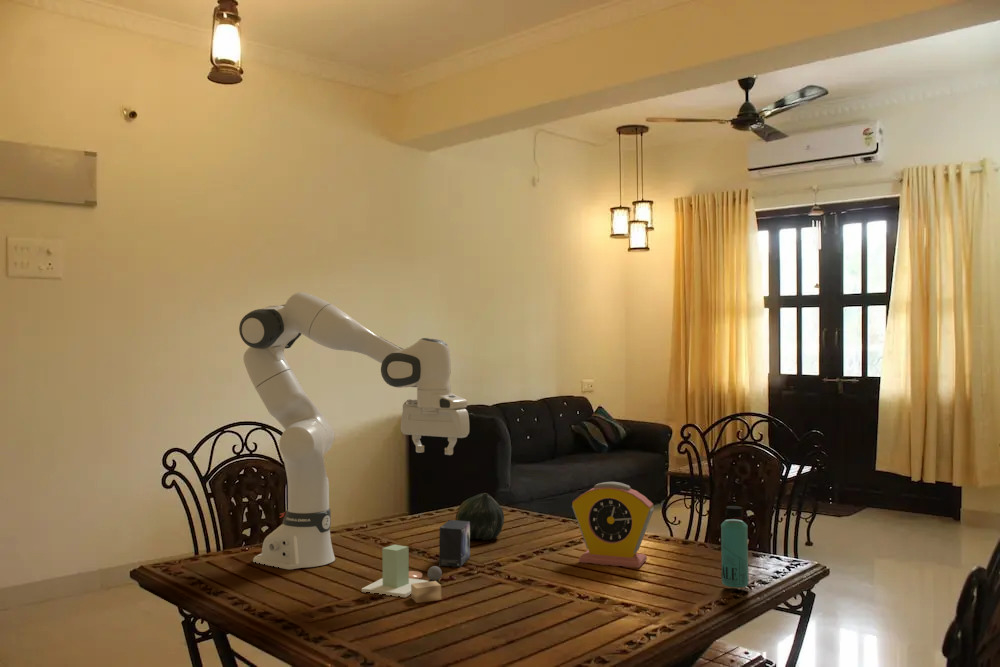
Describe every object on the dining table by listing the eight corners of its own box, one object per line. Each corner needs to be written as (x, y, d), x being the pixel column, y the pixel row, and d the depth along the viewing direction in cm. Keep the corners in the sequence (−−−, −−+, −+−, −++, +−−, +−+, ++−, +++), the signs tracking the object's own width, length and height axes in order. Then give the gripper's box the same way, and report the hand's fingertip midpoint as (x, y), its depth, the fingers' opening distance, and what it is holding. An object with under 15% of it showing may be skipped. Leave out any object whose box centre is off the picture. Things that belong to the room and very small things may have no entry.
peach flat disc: (390, 580, 208) (389, 577, 208) (403, 573, 215) (403, 570, 215) (414, 582, 206) (414, 579, 206) (427, 575, 212) (427, 572, 212)
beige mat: (361, 591, 197) (361, 588, 197) (387, 578, 208) (387, 575, 208) (405, 597, 192) (405, 594, 192) (429, 583, 203) (429, 580, 203)
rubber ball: (425, 581, 205) (424, 567, 205) (431, 578, 209) (431, 563, 209) (437, 583, 204) (437, 568, 204) (444, 579, 207) (444, 565, 207)
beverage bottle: (749, 587, 198) (748, 504, 199) (748, 595, 192) (747, 509, 192) (722, 585, 201) (721, 503, 201) (720, 592, 194) (719, 508, 195)
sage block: (382, 585, 200) (382, 548, 200) (394, 580, 203) (394, 544, 204) (396, 588, 197) (396, 550, 197) (408, 583, 201) (408, 546, 201)
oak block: (416, 603, 188) (416, 588, 188) (411, 598, 192) (411, 583, 192) (441, 600, 191) (441, 585, 191) (435, 595, 194) (435, 580, 194)
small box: (461, 568, 218) (461, 528, 218) (438, 566, 219) (438, 527, 220) (471, 557, 228) (471, 520, 229) (448, 556, 230) (448, 519, 230)
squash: (454, 514, 261) (457, 484, 251) (500, 515, 262) (505, 485, 253) (454, 552, 250) (458, 522, 240) (503, 553, 252) (508, 523, 242)
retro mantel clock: (569, 562, 223) (568, 482, 224) (578, 554, 232) (578, 477, 232) (649, 569, 215) (648, 487, 215) (656, 561, 223) (655, 482, 224)
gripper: (395, 399, 217) (395, 452, 216) (458, 402, 206) (458, 457, 205) (410, 398, 222) (410, 449, 222) (472, 400, 211) (472, 454, 211)
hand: (434, 453), depth 213 cm, fingers open, 8 cm apart
